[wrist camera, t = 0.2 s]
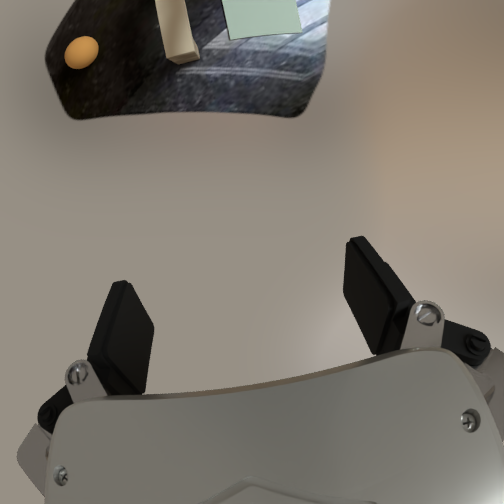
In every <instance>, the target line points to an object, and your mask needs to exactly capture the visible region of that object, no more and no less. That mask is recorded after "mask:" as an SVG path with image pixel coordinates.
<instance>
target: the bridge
mask: <svg viewBox="0 0 504 504" xmlns="http://www.w3.org/2000/svg"><path fill="white" fill-rule="evenodd" d="M155 2H156V8H157V13H158V18H159V23H160V28H161V33H162V38H163V43H164V47H165V52H166V57H167V59H169V60H171V61H173V62H175V63H177V64H178V65H179V64H182V63H186V62H190V61H194V60H198V59H200V56H199V52H198V47H197V45H196V43H195V41H194V40H193V38H192V34H191V30H190V25H189V20H188V15H187V10H186V5H185V1H184V0H155Z"/></svg>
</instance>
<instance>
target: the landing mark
mask: <svg viewBox="0 0 504 504" xmlns="http://www.w3.org/2000/svg"><path fill="white" fill-rule="evenodd" d="M222 3H223V7H224V12H225V16H226V21H227V26H228V31H229V35H230V40H233V39H239V38H246V37H254V36H262V35H273V34H286V33H302V28H301V23H300V18H299V14H298V9H297V5H296V1H295V0H222Z"/></svg>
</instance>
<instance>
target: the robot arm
mask: <svg viewBox="0 0 504 504" xmlns="http://www.w3.org/2000/svg"><path fill="white" fill-rule="evenodd" d="M343 293H344V297H345V299H346V301H347V303H348V305H349V307H350V308H351V311H352V313H353V315H354V317H355V319H356V321H357V323H358V325H359V327H360V329H361V332H362V333H363V336H364V338H365V340H366V342H367V344H368V347H369V349H370V351H371V353H372V354H373V355H375V354H376V356H374V357H371V358H368V359H364V360H361V361H357V362H354V363H350V364H346V365H342V366H338V367H334V368H331V369H327V370H323V371H318V372H314V373H310V374H305V375H301V376H296V377H292V378H286V379H281V380H276V381H270V382H265V383H259V384H253V385H247V386H239V387H232V388H224V389H216V390H206V391H197V392H184V393H171V394H147V395H142V393H144V392H145V389H146V381H147V374H148V366H149V360H150V354H151V347H152V341H153V335H154V325H153V323H152V321H151V319H150V317H149V315H148V314H147V312H146V310H145V308H144V307H143V305H142V303H141V301H140V299H139V297H138V295H137V294H136V292H135V290H134V288H133V286H132V285H131V283H128V282H127V281H126V280H122V281H117V282H114V283H113V284H112V286H111V289H110V291H109V294H108V296H107V299H106V301H105V304H104V307H103V309H102V312H101V315H100V318H99V320H98V323H97V326H96V329H95V332H94V335H93V338H92V340H91V343H90V347H89V350H88V353H87V356H88V358H87V361H86V360H77V361H75V362H74V363H72V364H71V365H70V366H69V368H68V369H67V371H66V374H65V383H66V385H65V386H64V387H63V388H62V389H60V390H59V391H58V392H57V393H56V394H55V395H53V396H52V397H51V398H50V399H49V400H48V401H46V402H45V403H44V404H43V405H42V406H41V407H40V409H39V412H38V423H39V424H38V425H37V424H34V426H33V427H32V429H31V430H30V432H29V433H28V435H27V437H26V438H25V439H24V441H23V443H22V444H21V446H20V447H19V449H18V452H17V461H18V463H19V465H20V466H21V468H22V469H23V470H24V472H25V473H26V475H27V476H28V477H29V479H30V480H31V481H32V482H33V484H34V485H35V486H36V487H37V489H38V490H39V491H40V492H41V493H42V495H43V496H44V497H45V504H504V446H503V443H502V442H503V440H504V353H503V352H502V351H500V350H499V349H497V348H496V347H495V348H494V350H493V349H492V348H491V345H490V342H489V340H488V338H487V336H486V335H485V334H483V333H482V332H480V331H478V330H475V329H471V328H469V327H466V326H463V325H460V324H457V323H454V322H451V321H448V320H445V317H444V312H443V310H442V309H441V308H440V307H439V306H438V305H437V304H435V303H434V302H431V301H425V300H424V301H419V302H417V303H416V301H415V300H414V299H413V297H412V296H411V294H410V293H409V291H408V290H407V289H406V288H405V286H404V285H403V283H402V282H401V281H400V279H399V278H398V276H397V275H396V274H395V272H394V271H393V270H392V268H391V267H390V266H389V264H387V263H386V262H384V261H383V260H382V258H381V257H380V256H379V255H378V253H377V252H376V251H375V249H374V248H373V247H372V246H371V244H370V243H369V242H368V241H367V239H366V238H365V237H364V236H359V237H353V238H350V241H349V242H347V243H346V254H345V271H344V284H343Z"/></svg>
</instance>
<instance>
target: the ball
mask: <svg viewBox="0 0 504 504" xmlns="http://www.w3.org/2000/svg"><path fill="white" fill-rule="evenodd" d="M97 54H98V44H97V42H96V41H95V40H94V39H93V38H91V37H87V36H84V37H80V38H77V39H75V40H74V41H73V42H71V43H70V44H69V46H68V47H67V49H66V52H65V61H66V63H67V65H68V66H70V67H71V68H74V69H81V68H84V67H87V66H88V65H90V64H91V63H92V62H93V61H94V60H95V58H96V56H97Z"/></svg>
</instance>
